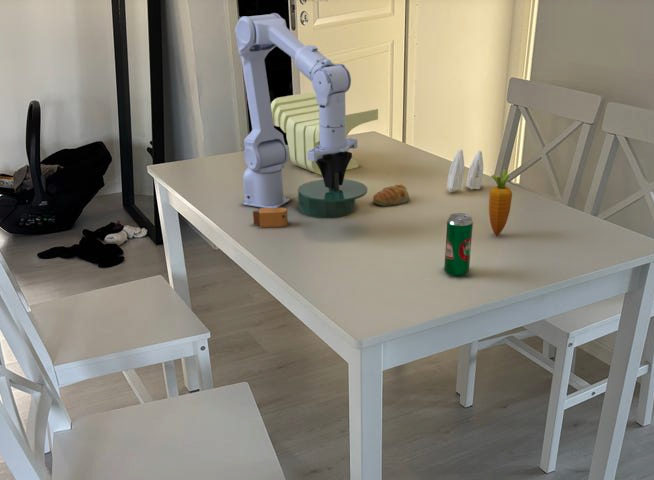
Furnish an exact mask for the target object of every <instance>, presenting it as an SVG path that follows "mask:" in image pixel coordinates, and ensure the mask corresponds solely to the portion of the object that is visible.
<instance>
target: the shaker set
mask: <svg viewBox="0 0 654 480" xmlns="http://www.w3.org/2000/svg"><path fill="white" fill-rule="evenodd" d="M483 159H484V158H483V151H482V150H478V151H477V152H476V154H475V155H474V157H473V159H472V161H471V163H470V165H469V168H468V172H467V178H466V183H465V187H466V188H468V189H469V190H474V189H475V190H480V189H481V185H482V180H483V174H484V160H483ZM465 168H466V167H465V158H464V151H463V149H459V150H458V151H457V152H456V154H455V155H454V158H453V160H452V161H451V164H450V166H449V170H448V175H447V182H446V189H447V190H448V192H449V193H454V192H458V191H460V190H462V186H463V180H464V175H465Z"/></svg>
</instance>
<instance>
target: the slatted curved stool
mask: <svg viewBox="0 0 654 480" xmlns="http://www.w3.org/2000/svg"><path fill="white" fill-rule="evenodd" d="M270 103H271V110H272V117H273V124H274V127H278V128H280V129H281V131H282V132H283V133H285V135H286V142H287V146H288V147H287V148H288V153H289V159H290V160H289V161H290V162H291V163H292V165H295V166H297V167H299V168H302V169H305V170H307V171H310V172H312V173H315V174H317V175H320V176H322V174H321V171H320V169H319V167H318V165H317V163H316V162H313V161H309V160H308V155H307V151H310V150H312V149H314V148H315V147H317V146H318V145H320V127H319V104H318V103H317V101H316V93H315V92H313V91H310V92H304V93H299V94H298V93H297V94H292V95H286V96H285V95H284V96H280V97H276V98H274V99H273V100H272V101H271V102H270ZM345 115H346V138H347V137H348V135H349V133H350V132H351V131H352V130H353V129H355V128H356V127H359V126H361V125H363V124H366V123H370V122H373V121H379V109H378V108H376V109H369V110H366V111H365V110H364V111H360V112H356V113H350V114H345ZM357 161H358V160H357V159H355V158H353V157H352V158H351V160H350V162H349V164H348V166H347V169H346V171H348V170H352V169H356V168H359V165H358V162H357Z"/></svg>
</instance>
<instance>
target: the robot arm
mask: <svg viewBox="0 0 654 480" xmlns="http://www.w3.org/2000/svg"><path fill="white" fill-rule="evenodd" d="M234 31H235V39H236V44H237V50H238V55H239V56H240V60H241V66H242V73H243V79H244V85H245V93H246V99H247V104H248V111H249V117H250V123H251V131H250V132H249V134H248V135H246V136H245V138H244V140H243V142H244V152H243V159H244V162H245V164H246V166H247V168H246V169H245V170H244V172H243V178H242V182H243V192H244V193H243V195H244V202H243V205H244V206H248V207H256V208H281V207H282V206H284V205H285V204H287V203H288V202H290V201H291V198H288V197H284V187H283V186H284V185H283V169H284V168H285V164H286V163H287V162H288V159H289V148H288V147H287V146H288V145H286V142H285V138H284V134H283V133H282V132H281V131H279V130H278V129H277V128H275V125H274V124H273V117H272V110H271V103H272V102H271V96H270V91H269V84H268V83H269V82H268V77H267V76H268V75H267V70H266V61H265V59H266V58H267V56H268V54H269V53H270V52H271V51H272V50H273V49H275V48H276V47H277V48H279V49H280V50H281V51H283V53H285V54H287V55H288V56H289V57H290V58H292V59H293V60H294V66H295V68H296V69H297V70H298V71H299V72H300V73H301V74H303V76H304V77H305V78H307V79H308V80H309V81H310V82H311V85H312V88H313V91H314V94H315V95H316V101H317V103H318V104H319V127H320V145H318V146H317V147H315V148H314V149H312V150H310V151H307V155H308V160H309V161H313V162H316V163H317V165H318V167H319V169H320V171H321V174H322V175H321V176H322V180H324V183H325V187H327V188H331V189H332V188H334V185H335V171H336V170H337V171H339V185H342V184H343V180H344V179H345V176H346V171H347V170H346V169H347V166H348V164H349V162H350V160H351V158H352V159H353V152H351V151H350V150H351V149H357V148H358V139H357V138H353V137H349V138H347V137H346V115H347V114H346V93H347V92H348V91H349V90H350V89H351V86H352V77H351V74H350V71H349V68H347V67H346V66H345V64H343V63H335V62H334V63H333V62H332V60H331V59H330V58H328V57H326V56H325V55H324V54H323V53H321V51H319V49H318V47H317V46H316V45H310V44H309V45H308V44H307V45H304V44H303V42H301V40H299V39H298V37H297V36H295V35H294V33H293V32H292V31H291V30H290V29H289V28H288V27H287V22H286V19H285V18H283V17H282V16H281V15H280V14H279V13H276V12H272V13H270V14H269V13H268V14H262V15H251V16H245V15H244V16H240V18H239V19H238V21H237V23H236V24H235V26H234Z"/></svg>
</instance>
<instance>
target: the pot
mask: <svg viewBox="0 0 654 480" xmlns="http://www.w3.org/2000/svg"><path fill="white" fill-rule="evenodd" d="M318 180H319V179H318ZM318 180H316V181H318ZM313 181H314V180H313ZM313 181H309V182H305V183H303V184H301V185H299V186H298V188H297V207H298V211H299V212H300V213H301V214H302V215H305V216H308V217H312V218H321V219H332V218H339V217H344V216H347V215H349V214H351V213H354V211H355V210H356V205H357V204H356V200H357V199H354V200H350V201H342V202H323V201H316V200H311V199H308V198H306V197H304V196H303V195H302V194H301V188H302V186H304V185H305V184H307V183H310V182H313Z"/></svg>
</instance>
